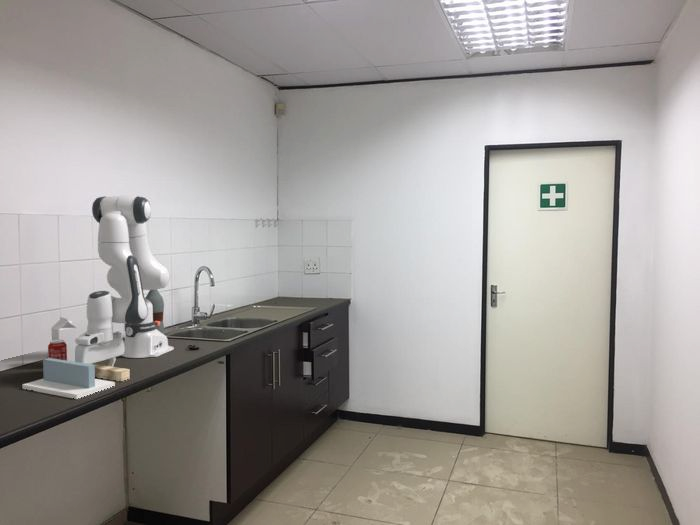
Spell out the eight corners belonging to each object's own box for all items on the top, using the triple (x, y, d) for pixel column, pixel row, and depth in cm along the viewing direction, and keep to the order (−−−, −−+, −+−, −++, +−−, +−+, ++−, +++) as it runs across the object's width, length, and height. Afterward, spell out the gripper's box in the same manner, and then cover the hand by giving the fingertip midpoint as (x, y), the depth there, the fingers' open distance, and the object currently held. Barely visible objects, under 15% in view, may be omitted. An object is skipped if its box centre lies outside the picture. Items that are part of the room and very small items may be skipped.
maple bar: (73, 374, 220) (73, 364, 220) (82, 372, 224) (81, 362, 224) (121, 382, 211) (121, 371, 210) (129, 380, 214) (129, 369, 214)
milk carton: (59, 368, 228) (58, 320, 227) (52, 364, 233) (50, 317, 232) (78, 364, 234) (76, 317, 232) (70, 361, 238) (69, 315, 237)
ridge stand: (62, 377, 216) (61, 353, 215) (114, 386, 205) (114, 361, 204) (22, 388, 201) (21, 363, 200) (76, 399, 191) (76, 372, 190)
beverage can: (62, 369, 227) (61, 338, 226) (70, 372, 223) (69, 341, 222) (46, 372, 222) (44, 341, 221) (53, 375, 218) (52, 343, 217)
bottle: (168, 338, 283) (167, 277, 281) (157, 342, 275) (156, 279, 272) (151, 337, 286) (150, 276, 283) (140, 341, 277) (139, 278, 274)
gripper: (115, 329, 227) (116, 364, 228) (71, 339, 208) (72, 377, 209) (128, 331, 224) (128, 366, 225) (84, 341, 206) (85, 380, 207)
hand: (101, 372), depth 217 cm, fingers open, 7 cm apart
